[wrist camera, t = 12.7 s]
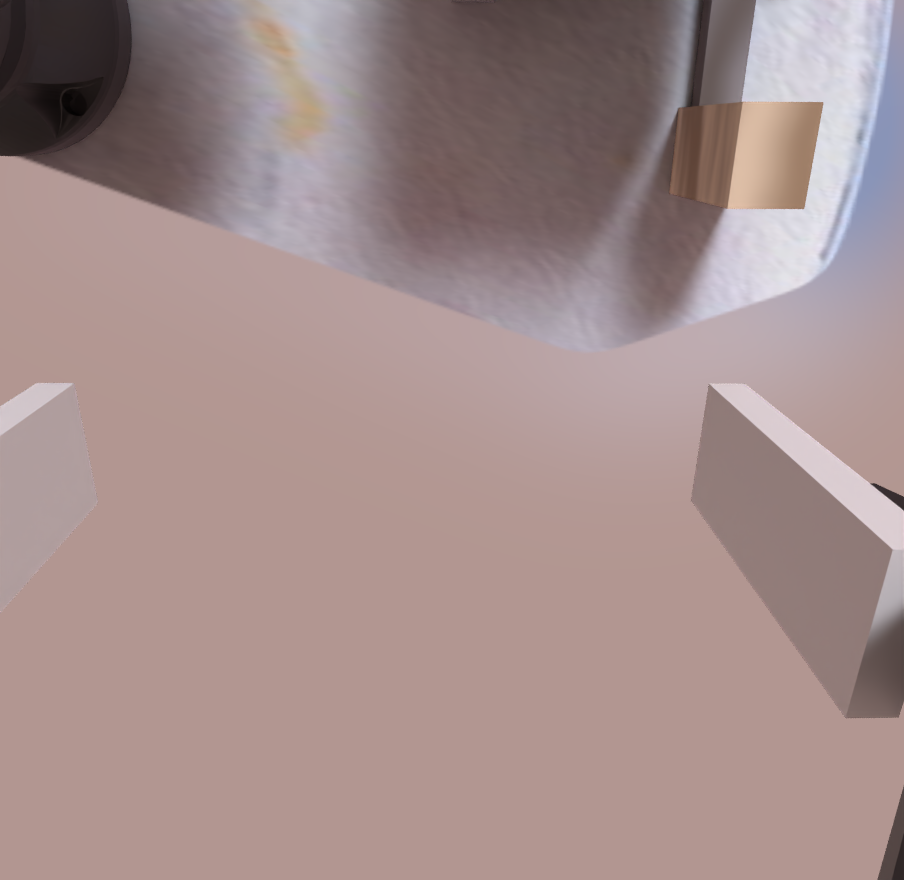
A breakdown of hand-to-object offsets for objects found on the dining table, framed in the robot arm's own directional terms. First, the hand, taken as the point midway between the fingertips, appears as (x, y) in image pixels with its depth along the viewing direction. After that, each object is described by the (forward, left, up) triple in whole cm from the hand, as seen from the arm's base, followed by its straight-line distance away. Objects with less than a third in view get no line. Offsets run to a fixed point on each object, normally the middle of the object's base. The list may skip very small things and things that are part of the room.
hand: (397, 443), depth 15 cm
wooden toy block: (+18, +13, -35) cm, 41 cm away
